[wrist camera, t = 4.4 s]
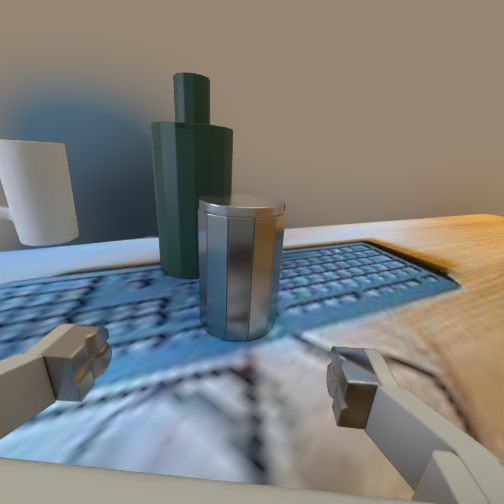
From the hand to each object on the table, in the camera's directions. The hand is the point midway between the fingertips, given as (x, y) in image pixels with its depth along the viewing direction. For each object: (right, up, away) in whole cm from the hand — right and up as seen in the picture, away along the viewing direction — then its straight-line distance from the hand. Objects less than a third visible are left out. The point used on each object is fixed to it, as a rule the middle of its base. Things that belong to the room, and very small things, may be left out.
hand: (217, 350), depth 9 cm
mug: (-27, +5, +24) cm, 37 cm away
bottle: (-5, +2, +20) cm, 20 cm away
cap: (0, -1, +10) cm, 11 cm away
